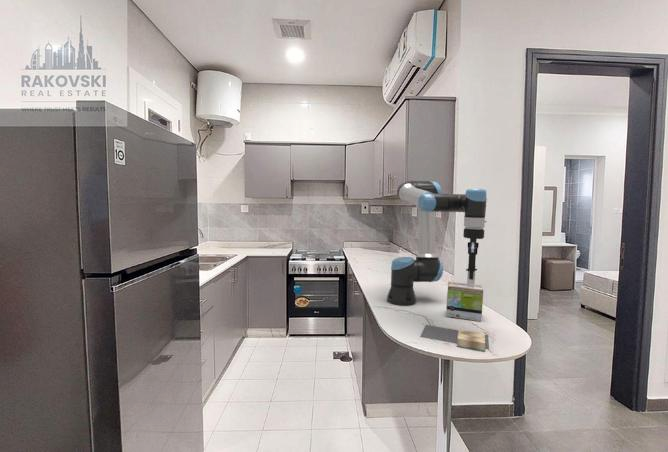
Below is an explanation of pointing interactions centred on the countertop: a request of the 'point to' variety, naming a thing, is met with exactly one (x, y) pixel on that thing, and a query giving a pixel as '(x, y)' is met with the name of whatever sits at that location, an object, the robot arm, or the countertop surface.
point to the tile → (471, 340)
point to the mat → (445, 334)
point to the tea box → (464, 301)
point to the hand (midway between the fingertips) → (470, 286)
